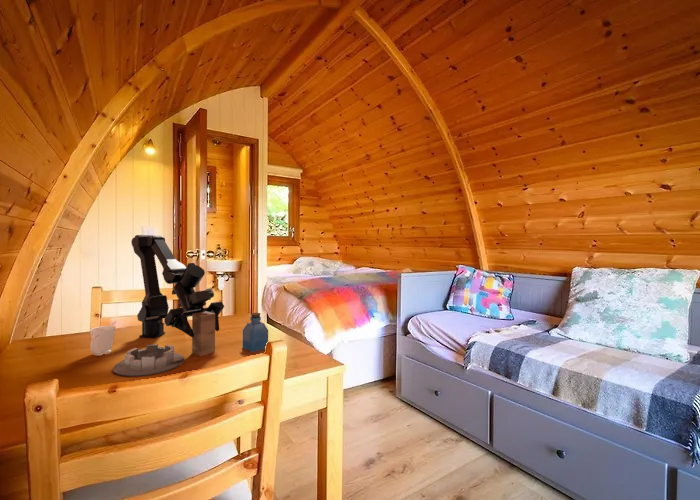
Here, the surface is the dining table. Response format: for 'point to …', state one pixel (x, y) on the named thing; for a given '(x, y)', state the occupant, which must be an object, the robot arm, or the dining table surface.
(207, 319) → the walnut block
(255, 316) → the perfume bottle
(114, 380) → the dining table surface
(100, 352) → the cup
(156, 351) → the castellated ring
